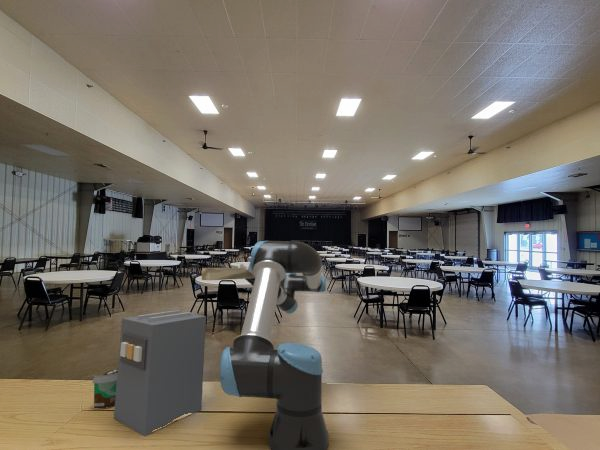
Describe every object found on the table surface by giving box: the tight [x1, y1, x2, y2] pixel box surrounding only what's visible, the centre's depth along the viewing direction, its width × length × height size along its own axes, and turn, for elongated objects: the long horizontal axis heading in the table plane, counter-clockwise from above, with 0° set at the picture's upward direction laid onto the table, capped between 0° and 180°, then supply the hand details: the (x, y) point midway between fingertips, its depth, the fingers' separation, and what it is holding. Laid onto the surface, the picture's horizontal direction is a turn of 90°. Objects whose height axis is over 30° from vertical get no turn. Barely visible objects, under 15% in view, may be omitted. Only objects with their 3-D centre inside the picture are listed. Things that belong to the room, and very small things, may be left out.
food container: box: [92, 368, 118, 409], centre depth 100 cm, size 12×6×10 cm, turn 168°
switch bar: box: [201, 267, 255, 281], centre depth 118 cm, size 4×26×4 cm, turn 146°
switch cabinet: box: [113, 309, 207, 437], centre depth 94 cm, size 16×19×29 cm
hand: (243, 266), depth 123 cm, fingers closed on switch bar, 4 cm apart
